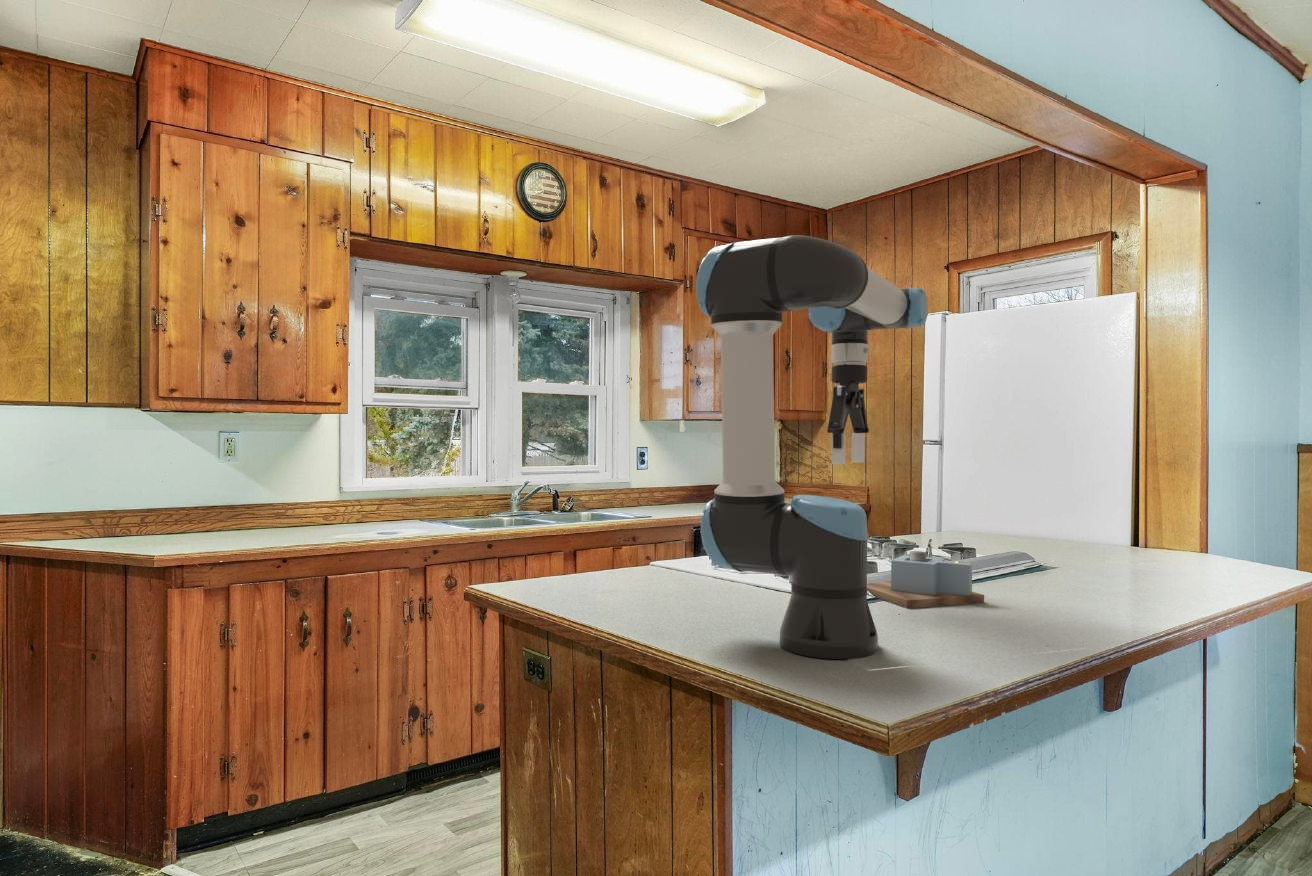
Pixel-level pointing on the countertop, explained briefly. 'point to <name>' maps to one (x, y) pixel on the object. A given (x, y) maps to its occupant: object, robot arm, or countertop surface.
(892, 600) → the post base
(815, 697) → the countertop surface
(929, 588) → the pale blue notched block
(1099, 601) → the countertop surface
